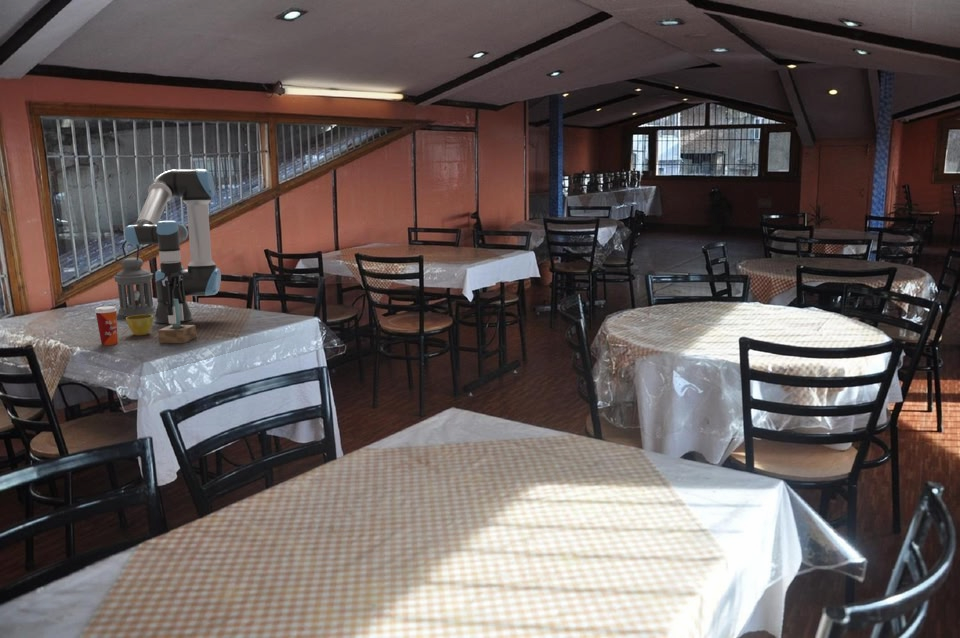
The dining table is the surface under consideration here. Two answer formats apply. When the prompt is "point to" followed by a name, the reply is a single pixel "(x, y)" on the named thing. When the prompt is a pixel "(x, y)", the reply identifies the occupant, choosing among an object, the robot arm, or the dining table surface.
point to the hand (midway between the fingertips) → (176, 321)
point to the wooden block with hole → (177, 334)
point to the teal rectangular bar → (177, 315)
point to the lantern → (128, 279)
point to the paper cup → (107, 324)
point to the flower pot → (140, 324)
